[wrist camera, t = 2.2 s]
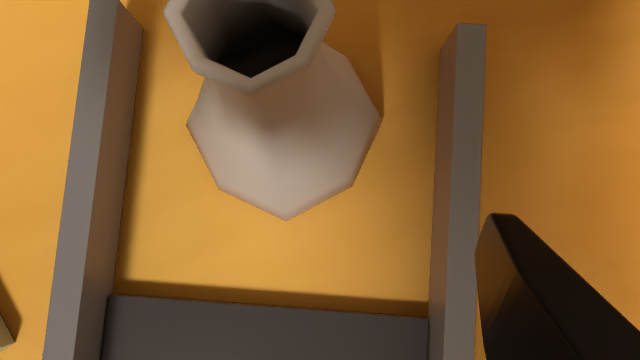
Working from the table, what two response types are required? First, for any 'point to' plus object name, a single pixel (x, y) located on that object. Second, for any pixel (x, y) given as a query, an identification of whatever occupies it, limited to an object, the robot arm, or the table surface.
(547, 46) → the table surface
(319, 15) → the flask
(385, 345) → the trough
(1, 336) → the pad
